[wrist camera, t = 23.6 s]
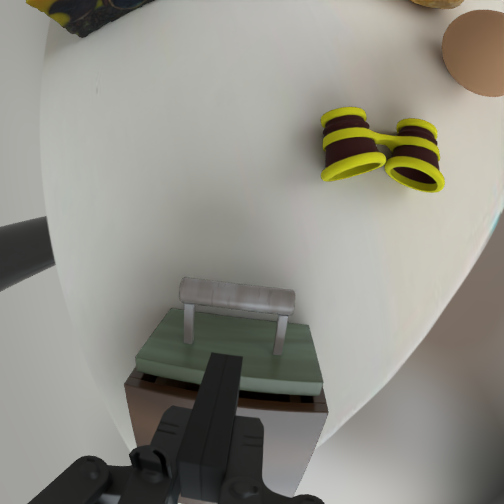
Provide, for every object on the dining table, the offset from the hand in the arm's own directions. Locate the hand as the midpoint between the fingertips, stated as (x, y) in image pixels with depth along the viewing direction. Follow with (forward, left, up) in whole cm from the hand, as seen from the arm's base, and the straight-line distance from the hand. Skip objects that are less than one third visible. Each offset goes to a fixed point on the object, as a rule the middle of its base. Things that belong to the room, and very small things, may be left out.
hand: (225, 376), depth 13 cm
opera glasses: (+9, +13, -12) cm, 20 cm away
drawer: (0, -7, -10) cm, 12 cm away
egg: (+18, +24, -12) cm, 32 cm away
